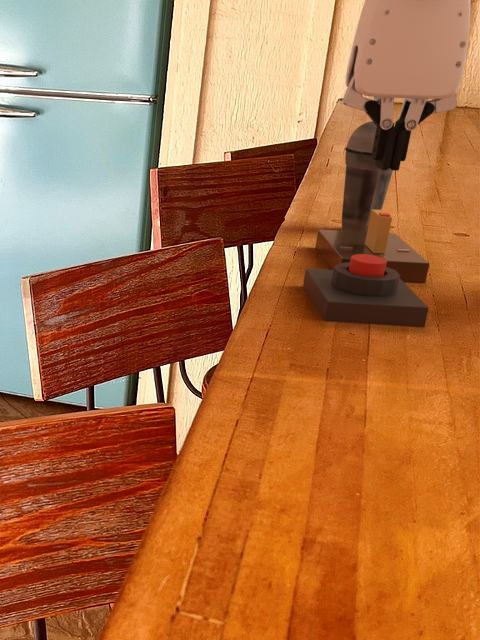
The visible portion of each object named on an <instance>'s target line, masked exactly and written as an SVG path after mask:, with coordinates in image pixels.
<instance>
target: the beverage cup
mask: <svg viewBox="0 0 480 640" xmlns="http://www.w3.org/2000/svg"><path fill="white" fill-rule="evenodd" d="M376 128H377V126H376V125H375V124H374V123H373V121H372V120H370V121H367V122H365V123H363V124H361V125H359V126H358V127H357V128H355V130H354V131H353V132H352V133H351V135H350V137H348V140H347V144H346V146H345V148H344V151H345V155H344V159H345V160H344V161H345V162H344V163H345V176H344V186H343V187H344V189H343V200H342V211H341V229H340V231H356V232H367V231H368V226H369V221H370V215H371V210H372V209H374V210H383V206H384V203H385V199H386V196H387V192H388V189H389V186H390V182H391V178H392V175H393V171H394V170H391V169H388V170H381V169H380V168H378V167H377V166H375V160H373V159H372V149H373V144H374V138H375V133H376Z"/></svg>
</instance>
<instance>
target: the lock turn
mask: <svg viewBox="0 0 480 640" xmlns="http://www.w3.org/2000/svg"><path fill="white" fill-rule="evenodd" d="M392 221H393V217H392V215H391V214H390V213H389V212H386V211H385V210H384V209H382V210H374V209H372V210H371V215H370V221H369V226H368V231H367V237H366V242H365V245H366V246H367V247H368V248H369V249H370V250H371V251H372V252H373V253H381V254H385V252H386V246H387V241H388V236H389V233H390V231H391V226H392Z"/></svg>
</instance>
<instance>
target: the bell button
mask: <svg viewBox="0 0 480 640" xmlns="http://www.w3.org/2000/svg"><path fill="white" fill-rule="evenodd" d="M386 263H387V260H386V259H384V258H382V257H379V256H374V255H367V254H357V255H353V256H351V260H350V266H349V271H348V272H351V273H354V274H357V275H362V276H370V277H381V276H384V273H385V268H386Z"/></svg>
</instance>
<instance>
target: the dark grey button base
mask: <svg viewBox="0 0 480 640" xmlns="http://www.w3.org/2000/svg"><path fill="white" fill-rule="evenodd" d="M349 266H350V262H347V263H339V264H338V265H336V266H335V267H334V269H333V270H332V269H323V268H305V271H304V276H303V284H302V287H303V289H304V290H305V292H306V294H307V295H308V297H309V298H310V300H311V301H312V303H313V305H314V307H315V308H316V309H317V311H318V312H319V314H320V316H321V317H322V319H323V320H324V322H330V323H331V322H333V323H348V324H363V325H364V324H365V325H366V324H367V325H382V326H383V325H384V326H397V327H398V326H399V327H414V328H425V327H426V323H427V318H428V314H429V309H430V307H429V306H428V305H427V304H426V303H425V302H424V301H423V300H422V299H421V298H420V297H419V296H418V295H417V294H416V293H415V292H414V291H413V290H412V289H411V288H410V287H409V285H407V284H406V282H403V281H402V280H401V279H400V275H399V274H398V273H397V272H396V271H395V270H393V269H390V268H387V267H386V268H385V273H384V276H381V277H370V276H362V275H357V274H354V273H351V272H348V271H349Z"/></svg>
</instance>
